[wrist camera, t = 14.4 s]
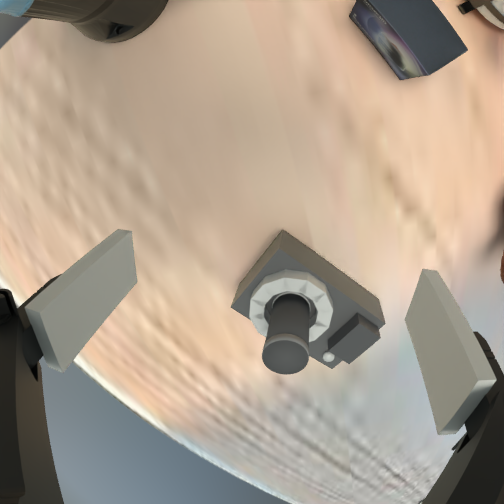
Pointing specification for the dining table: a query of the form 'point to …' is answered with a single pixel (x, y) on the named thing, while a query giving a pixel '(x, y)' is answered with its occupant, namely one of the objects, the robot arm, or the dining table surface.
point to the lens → (288, 334)
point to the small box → (409, 35)
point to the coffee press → (487, 10)
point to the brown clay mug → (502, 268)
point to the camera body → (312, 300)
